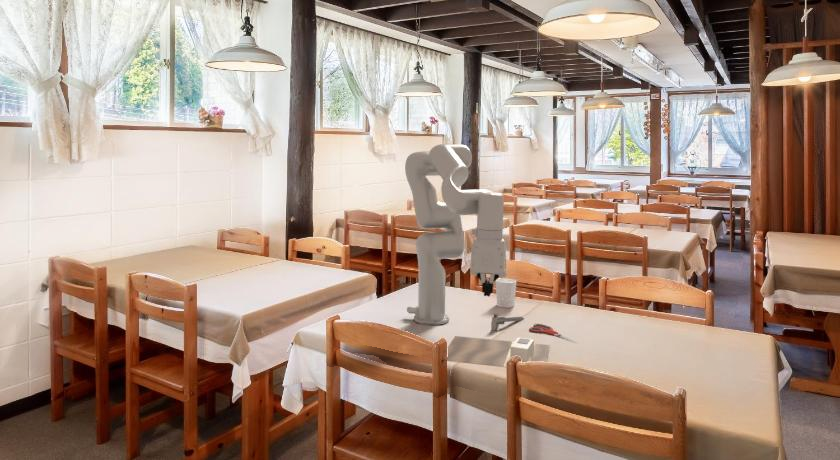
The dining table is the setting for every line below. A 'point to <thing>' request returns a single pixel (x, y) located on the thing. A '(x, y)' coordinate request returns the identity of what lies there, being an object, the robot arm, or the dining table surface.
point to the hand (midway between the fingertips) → (487, 295)
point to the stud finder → (522, 348)
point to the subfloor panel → (488, 351)
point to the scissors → (546, 331)
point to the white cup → (505, 292)
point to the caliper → (502, 321)
